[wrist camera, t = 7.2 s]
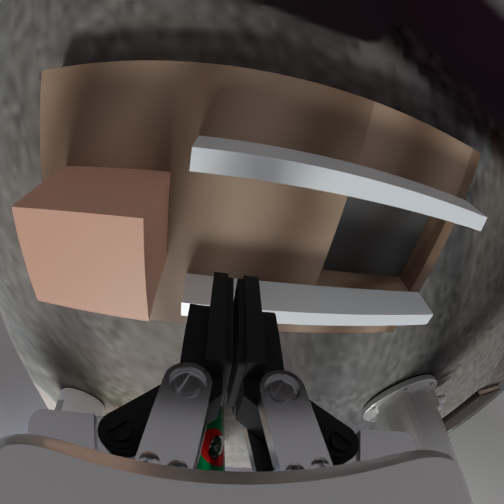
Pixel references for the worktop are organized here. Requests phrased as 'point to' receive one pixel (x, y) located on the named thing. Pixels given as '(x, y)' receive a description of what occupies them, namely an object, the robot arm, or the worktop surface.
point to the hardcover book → (468, 406)
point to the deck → (250, 190)
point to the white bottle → (78, 402)
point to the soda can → (213, 446)
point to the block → (96, 238)
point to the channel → (339, 182)
